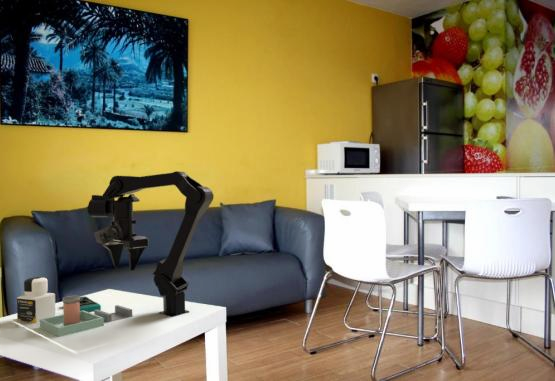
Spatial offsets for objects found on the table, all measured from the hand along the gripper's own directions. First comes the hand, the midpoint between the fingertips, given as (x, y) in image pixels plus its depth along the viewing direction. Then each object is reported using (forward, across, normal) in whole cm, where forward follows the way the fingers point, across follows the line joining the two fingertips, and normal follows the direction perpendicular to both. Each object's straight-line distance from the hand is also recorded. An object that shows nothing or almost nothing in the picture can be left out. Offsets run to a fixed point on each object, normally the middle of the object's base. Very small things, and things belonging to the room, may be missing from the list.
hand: (124, 268), depth 144 cm
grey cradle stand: (+13, +4, -6) cm, 15 cm away
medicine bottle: (+13, -12, -21) cm, 28 cm away
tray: (+13, +4, -18) cm, 23 cm away
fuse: (+13, +4, -18) cm, 22 cm away
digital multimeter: (+14, -14, -7) cm, 20 cm away
